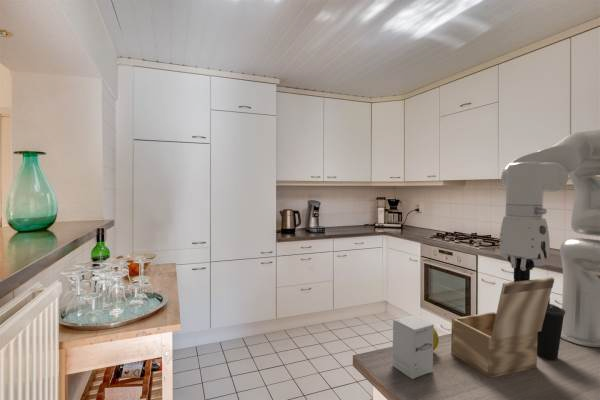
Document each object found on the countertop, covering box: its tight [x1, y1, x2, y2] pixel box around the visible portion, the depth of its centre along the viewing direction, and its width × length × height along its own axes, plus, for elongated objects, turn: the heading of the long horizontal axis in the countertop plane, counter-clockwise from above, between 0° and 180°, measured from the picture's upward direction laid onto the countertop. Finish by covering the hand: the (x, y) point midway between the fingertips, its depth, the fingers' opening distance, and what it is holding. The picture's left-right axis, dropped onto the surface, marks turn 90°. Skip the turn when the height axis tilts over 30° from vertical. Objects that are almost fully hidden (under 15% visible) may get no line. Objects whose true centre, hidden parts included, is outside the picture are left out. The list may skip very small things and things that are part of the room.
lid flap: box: [491, 277, 555, 340], centre depth 81 cm, size 17×15×1 cm
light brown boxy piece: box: [450, 311, 538, 379], centre depth 89 cm, size 16×13×10 cm
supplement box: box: [391, 315, 435, 380], centre depth 84 cm, size 7×7×13 cm
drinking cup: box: [537, 297, 565, 361], centre depth 91 cm, size 8×8×20 cm
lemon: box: [433, 328, 440, 351], centre depth 93 cm, size 6×6×8 cm
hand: (521, 284), depth 81 cm, fingers closed
